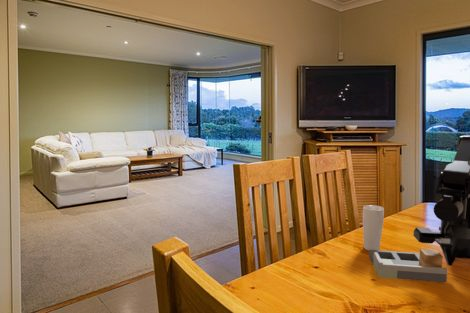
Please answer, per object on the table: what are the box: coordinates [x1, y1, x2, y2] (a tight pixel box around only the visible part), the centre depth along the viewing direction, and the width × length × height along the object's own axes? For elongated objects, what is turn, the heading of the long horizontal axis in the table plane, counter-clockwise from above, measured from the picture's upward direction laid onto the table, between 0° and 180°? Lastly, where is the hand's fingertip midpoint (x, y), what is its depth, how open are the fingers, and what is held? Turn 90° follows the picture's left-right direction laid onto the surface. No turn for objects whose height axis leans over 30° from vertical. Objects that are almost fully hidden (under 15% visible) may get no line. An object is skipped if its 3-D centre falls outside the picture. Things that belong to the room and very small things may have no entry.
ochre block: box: [419, 248, 444, 268], centre depth 99 cm, size 4×4×4 cm
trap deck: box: [368, 249, 448, 283], centre depth 103 cm, size 18×14×4 cm
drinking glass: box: [362, 204, 385, 252], centre depth 117 cm, size 7×7×15 cm
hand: (449, 265), depth 98 cm, fingers closed
